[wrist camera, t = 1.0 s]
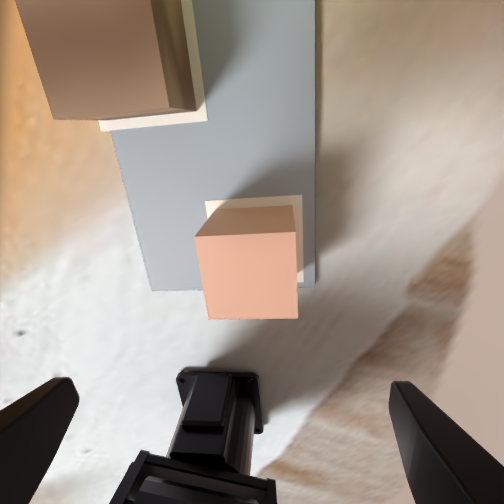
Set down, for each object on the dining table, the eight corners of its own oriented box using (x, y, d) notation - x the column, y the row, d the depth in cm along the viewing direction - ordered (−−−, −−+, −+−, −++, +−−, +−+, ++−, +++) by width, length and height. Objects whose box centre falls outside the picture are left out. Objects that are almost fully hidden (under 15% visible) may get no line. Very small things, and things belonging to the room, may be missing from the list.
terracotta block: (294, 275, 18) (298, 318, 14) (224, 277, 19) (208, 319, 15) (292, 205, 17) (295, 231, 12) (215, 209, 17) (194, 236, 13)
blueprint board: (314, 284, 19) (314, 287, 19) (147, 288, 20) (144, 291, 20) (313, -50, 12) (314, -56, 12) (68, -10, 14) (62, -13, 13)
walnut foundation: (196, 111, 15) (169, 107, 11) (107, 120, 16) (53, 119, 12) (179, -12, 13) (138, -64, 9) (77, 4, 14) (2, -39, 10)
